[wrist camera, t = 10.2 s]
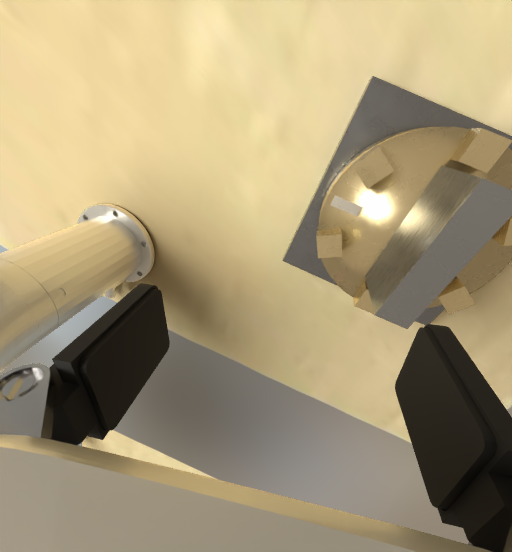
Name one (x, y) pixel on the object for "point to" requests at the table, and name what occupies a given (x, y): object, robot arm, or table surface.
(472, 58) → the table surface
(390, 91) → the base plate
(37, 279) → the robot arm
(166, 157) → the table surface
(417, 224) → the round hub with lugs
